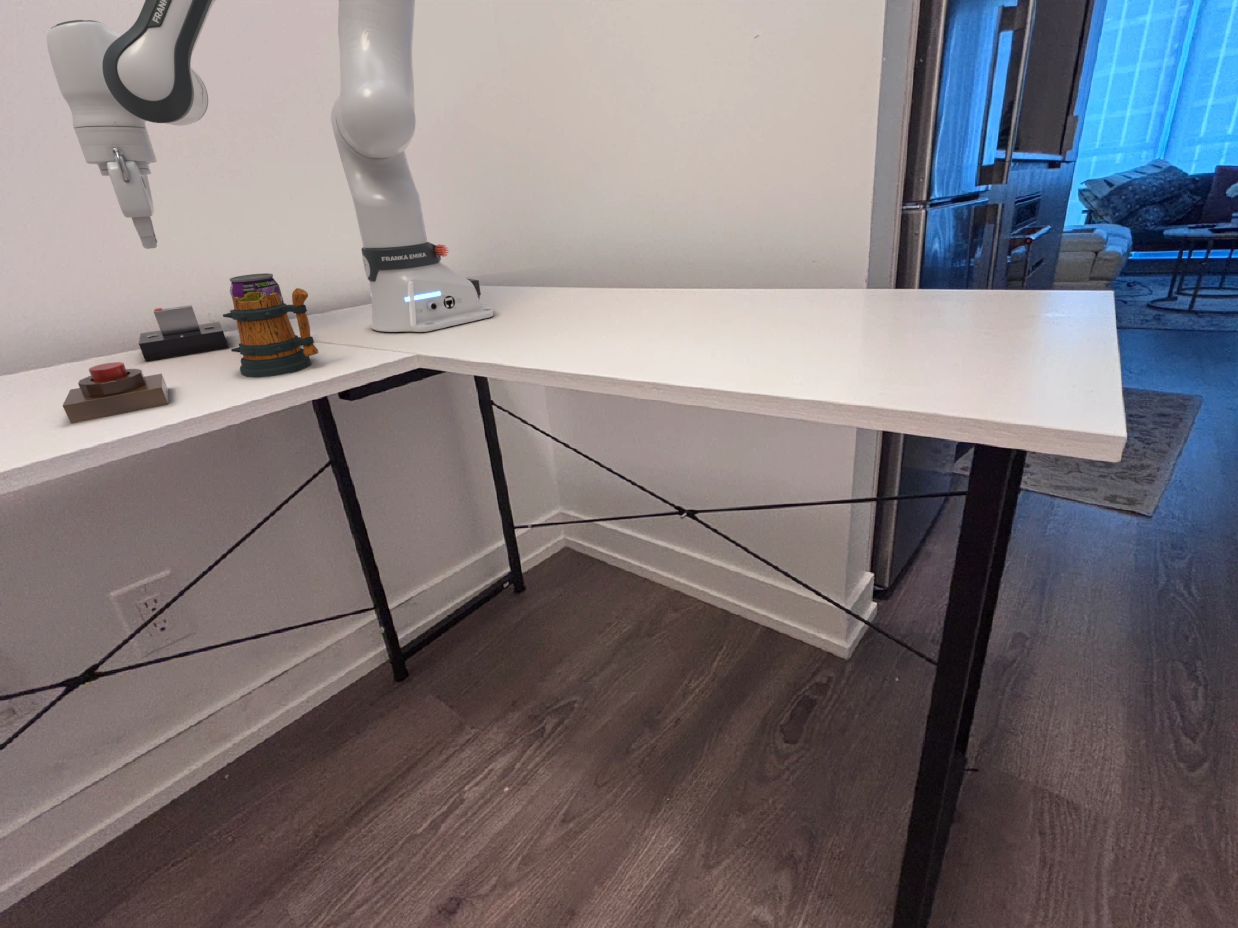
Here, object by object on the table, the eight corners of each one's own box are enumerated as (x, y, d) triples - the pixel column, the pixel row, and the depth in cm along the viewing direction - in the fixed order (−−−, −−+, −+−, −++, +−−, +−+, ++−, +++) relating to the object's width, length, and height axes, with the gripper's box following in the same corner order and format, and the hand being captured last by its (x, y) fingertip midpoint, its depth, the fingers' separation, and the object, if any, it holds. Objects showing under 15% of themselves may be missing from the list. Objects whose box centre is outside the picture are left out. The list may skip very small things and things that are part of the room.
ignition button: (129, 373, 81) (124, 360, 81) (128, 379, 79) (122, 366, 78) (95, 379, 80) (89, 365, 79) (93, 385, 77) (87, 372, 76)
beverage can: (277, 356, 100) (254, 279, 95) (239, 355, 102) (215, 280, 96) (305, 344, 106) (285, 272, 101) (269, 344, 108) (248, 273, 103)
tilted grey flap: (199, 328, 109) (191, 303, 107) (200, 329, 107) (191, 305, 106) (162, 333, 106) (153, 308, 104) (162, 335, 105) (152, 310, 103)
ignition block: (168, 390, 86) (157, 362, 84) (168, 404, 80) (156, 374, 78) (77, 406, 81) (64, 377, 79) (70, 424, 75) (56, 392, 73)
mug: (223, 378, 90) (195, 297, 85) (267, 358, 99) (245, 284, 94) (306, 377, 88) (283, 294, 83) (343, 357, 97) (325, 281, 92)
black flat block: (224, 337, 115) (218, 320, 113) (228, 348, 107) (222, 329, 106) (146, 350, 109) (139, 332, 108) (145, 361, 101) (138, 342, 100)
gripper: (142, 146, 88) (175, 248, 94) (145, 153, 104) (173, 240, 109) (86, 146, 85) (124, 252, 91) (98, 154, 101) (130, 244, 106)
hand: (151, 246), depth 100 cm, fingers open, 8 cm apart
